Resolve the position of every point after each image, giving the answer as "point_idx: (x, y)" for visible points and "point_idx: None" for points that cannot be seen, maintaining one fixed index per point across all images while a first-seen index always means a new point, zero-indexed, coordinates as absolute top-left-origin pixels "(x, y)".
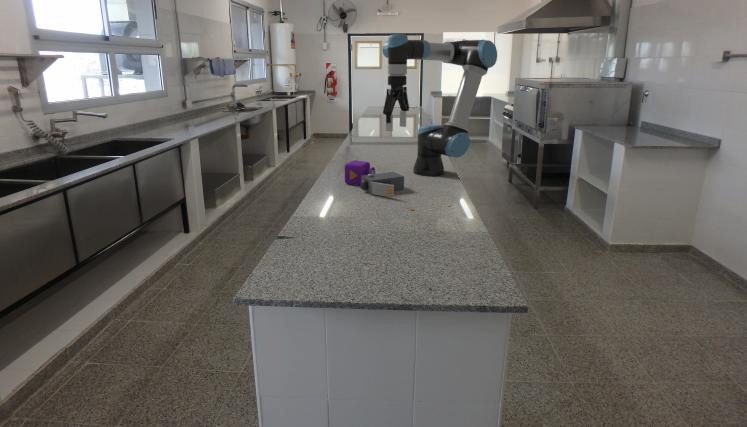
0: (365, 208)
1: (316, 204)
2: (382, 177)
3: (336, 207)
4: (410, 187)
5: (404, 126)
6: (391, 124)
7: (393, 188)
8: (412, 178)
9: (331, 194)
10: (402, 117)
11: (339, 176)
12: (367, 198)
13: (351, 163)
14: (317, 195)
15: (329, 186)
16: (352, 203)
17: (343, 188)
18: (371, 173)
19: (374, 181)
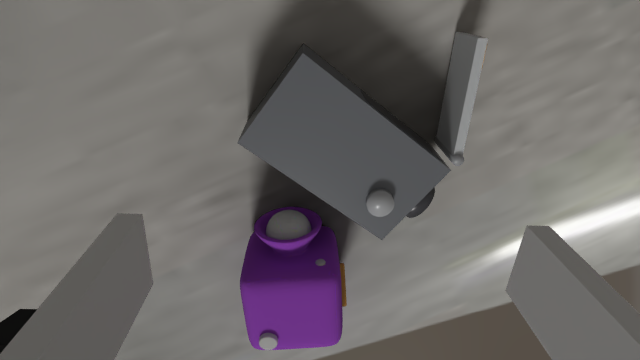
0: (626, 80)
1: (606, 248)
2: (375, 145)
3: (629, 180)
4: (245, 29)
5: (142, 227)
6: (602, 286)
7: (477, 36)
8: (83, 86)
9: (479, 262)
10: (89, 350)
11: (248, 340)
12: (490, 132)
13: (325, 329)
14: (505, 291)
15: (387, 309)
16: (570, 153)
17: (391, 263)
18: (305, 225)
19: (435, 156)
